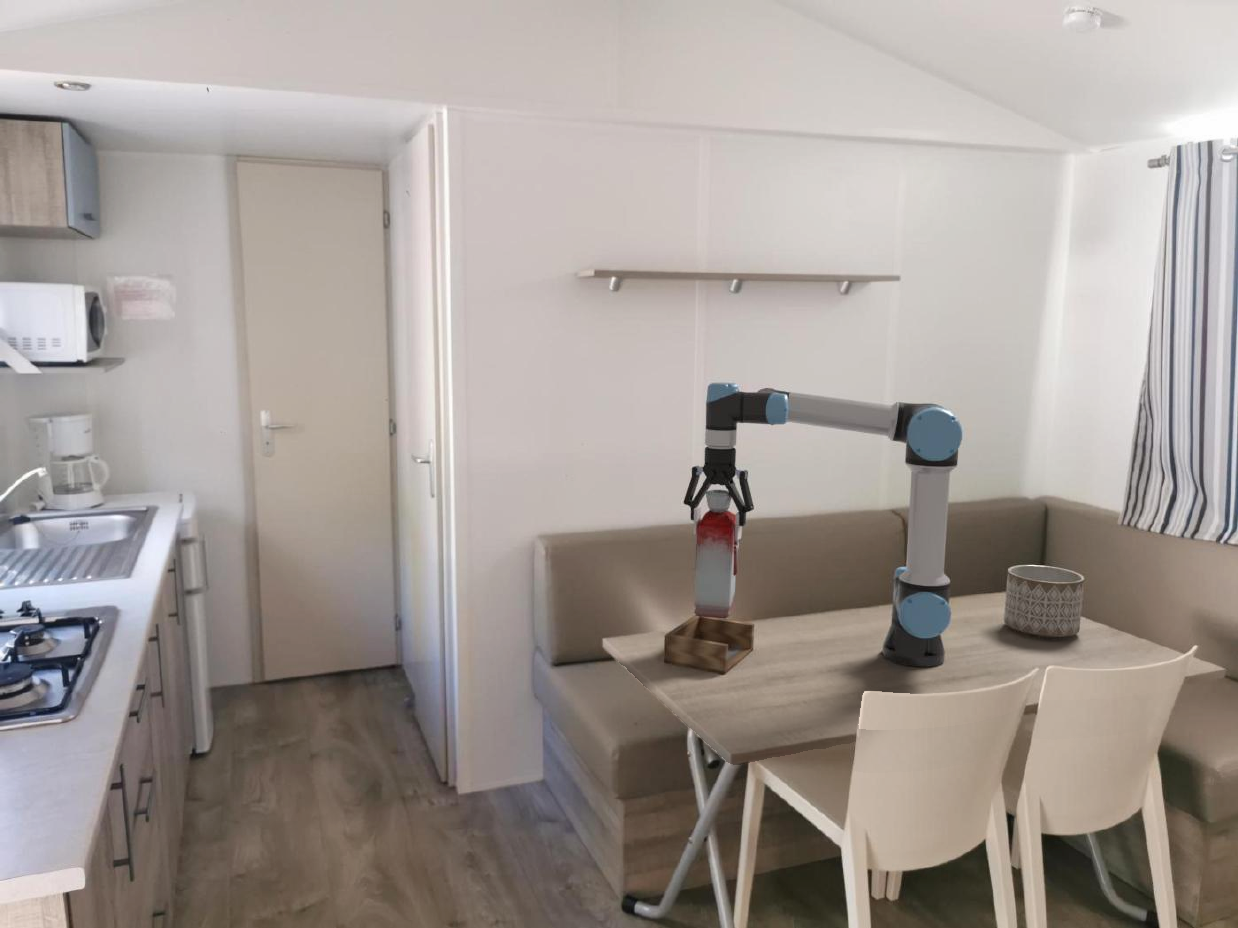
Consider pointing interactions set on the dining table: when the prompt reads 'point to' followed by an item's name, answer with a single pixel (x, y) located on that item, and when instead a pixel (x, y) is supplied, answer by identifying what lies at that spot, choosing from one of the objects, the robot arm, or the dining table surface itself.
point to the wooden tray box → (709, 644)
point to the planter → (1043, 600)
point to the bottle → (716, 558)
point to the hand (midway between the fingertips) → (717, 536)
